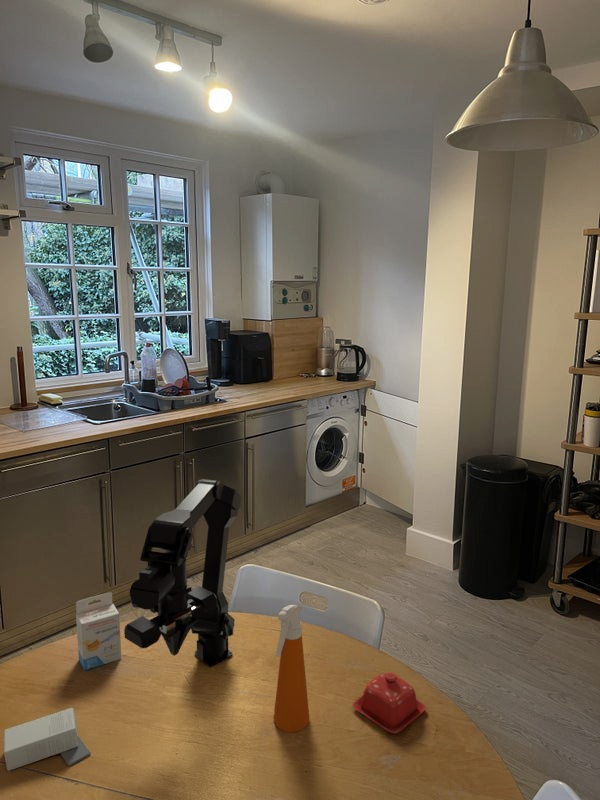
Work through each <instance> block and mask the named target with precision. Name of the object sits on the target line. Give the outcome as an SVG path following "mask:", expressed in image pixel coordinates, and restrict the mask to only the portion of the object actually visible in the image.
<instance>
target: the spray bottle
mask: <svg viewBox="0 0 600 800" xmlns="http://www.w3.org/2000/svg"><path fill="white" fill-rule="evenodd" d="M301 612H302V607H301V606H300V605H295V604H289V605H286V606H285V607H282V608H281V609H280V612H279V614H277V618H278V620H279V621H280V632H279V638H278V642H277V648H276V651H275V657H276V658H279V666H278V667H279V668H278V675H277V685H276V695H275V702H274V710H273V711H274V712H273V720H274V725H275V726H276V727H277V728H278V729H280V730H282V731H283V732H289V733H294V732H299V731H301V730H303V729H305V728H306V727H307V726H308V724H309V722H310V711H309V710H310V709H309V699H308V688H307V679H306V678H307V677H306V668H305V667H306V666H305V657H304V656H305V655H304V645H303V635H302V633H303V631H302V623H301V618H300V615H301Z"/></svg>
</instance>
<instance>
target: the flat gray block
mask: <svg viewBox="0 0 600 800" xmlns="http://www.w3.org/2000/svg"><path fill="white" fill-rule="evenodd" d="M78 743H79V745H78V747H75V748H72V749H69V750H66V751H64V752H61V753H59V754H60V756H61V757H62V758H63V760H64V762H65V763H66V765H67V766H68V767H70V766H72V765H75V764H76V763H78V762H79V761H82V760H83V759H84V760H85V758H87V757H89V756H91V752H90V750H89V749H88V748H87V746H86V745H85V744H84V742H83V741H82V740H81V738H80V736H78Z"/></svg>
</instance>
